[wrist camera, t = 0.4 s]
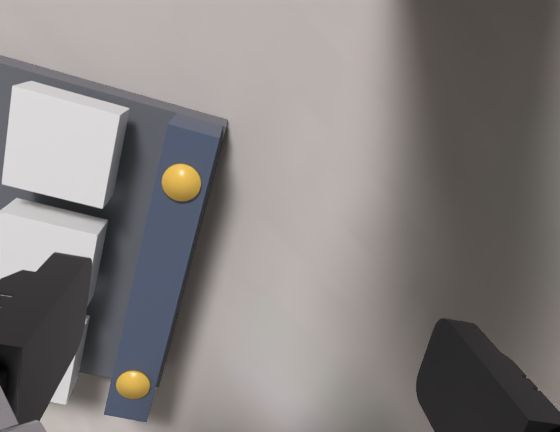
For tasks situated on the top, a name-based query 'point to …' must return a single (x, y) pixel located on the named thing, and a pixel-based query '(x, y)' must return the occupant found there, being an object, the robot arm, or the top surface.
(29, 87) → the inner key
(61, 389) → the outer key
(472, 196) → the top surface
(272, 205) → the top surface
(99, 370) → the keypad
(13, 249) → the middle key
